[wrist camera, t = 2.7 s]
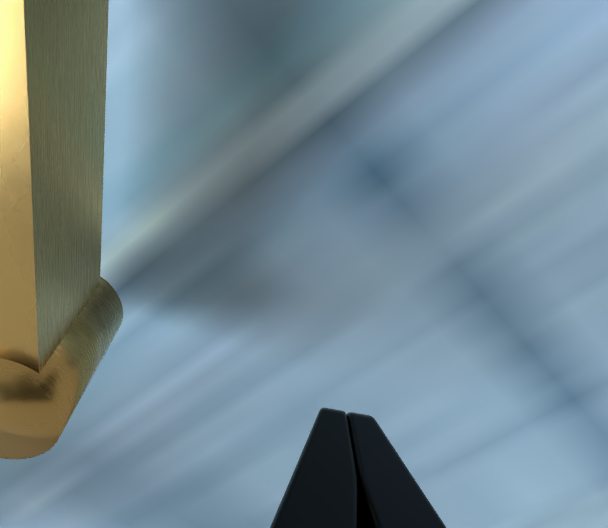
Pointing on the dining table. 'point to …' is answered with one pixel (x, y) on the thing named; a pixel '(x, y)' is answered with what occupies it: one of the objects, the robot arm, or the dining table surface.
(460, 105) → the dining table surface
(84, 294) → the gold bone
